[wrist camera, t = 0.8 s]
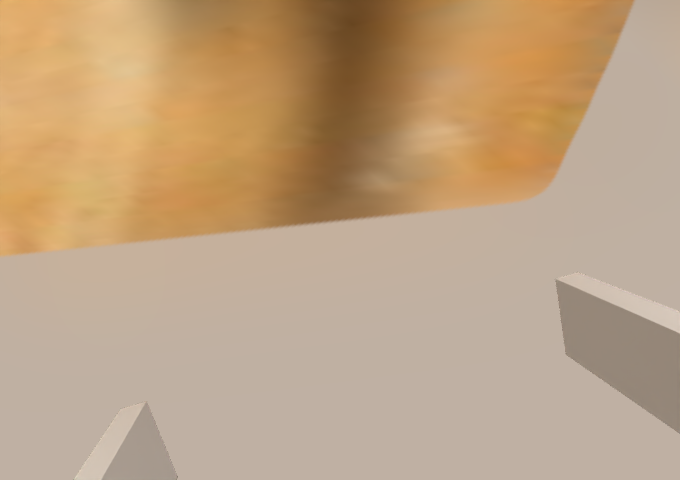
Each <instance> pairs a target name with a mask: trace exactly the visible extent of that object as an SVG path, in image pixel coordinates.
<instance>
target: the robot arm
mask: <svg viewBox="0 0 680 480" xmlns="http://www.w3.org/2000/svg"><path fill="white" fill-rule="evenodd" d="M556 287H557V294H558V301H559V308H560V315H561V323H562V330H563V337H564V344H565V352H566V355H567V356H569V357H570V358H572V359H573V360H575V361H576V362H577V363H579V364H580V365H582V366H583V367H585V368H586V369H587V370H589V371H590V372H592V373H593V374H595V375H596V376H598V377H599V378H600V379H602V380H603V381H605V382H606V383H608V384H609V385H610V386H612V387H613V388H615V389H616V390H618V391H619V392H621V393H622V394H623V395H625V396H626V397H628V398H629V399H631V400H632V401H634V402H635V403H637V404H638V405H639V406H641V407H642V408H644V409H645V410H647V411H648V412H649V413H651V414H653V415H654V416H655V417H657V418H658V419H659V420H661V421H663V422H664V423H665V424H667V425H668V426H670V427H671V428H673V429H674V430H675V431H677V432H678V433H680V311H677V310H674V309H672V308H669V307H667V306H664V305H661V304H659V303H656V302H654V301H651V300H649V299H646V298H643V297H640V296H638V295H636V294H633V293H630V292H628V291H625V290H623V289H620V288H617V287H615V286H612V285H609V284H607V283H604V282H601V281H599V280H596V279H594V278H591V277H589V276H586V275H583V274H581V273H578V272H576V273H573V274H570V275H566V276H563V277H559V278H556ZM177 478H178V476H177V474H176V472H175V469H174V467H173V464H172V462H171V459H170V457H169V455H168V452H167V450H166V447H165V445H164V442H163V440H162V437H161V435H160V433H159V430H158V428H157V425H156V423H155V420H154V418H153V416H152V413H151V411H150V408H149V406H148V403H147V402H146V401H145V402H142V403H138V404H135V405H132V406H129V407H125V408H122V409H120V410H119V412H118V413H117V415H116V416H115V418H114V419H113V421H112V422H111V424H110V425H109V427H108V428H107V430H106V431H105V433H104V434H103V436H102V437H101V439H100V440H99V442H98V443H97V445H96V446H95V448H94V450H93V451H92V453H91V454H90V455H89V457H88V458H87V460H86V462H85V463H84V465H83V466H82V468H81V469H80V471H79V472H78V474H77V475H76V477H75V478H74V480H177Z"/></svg>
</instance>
